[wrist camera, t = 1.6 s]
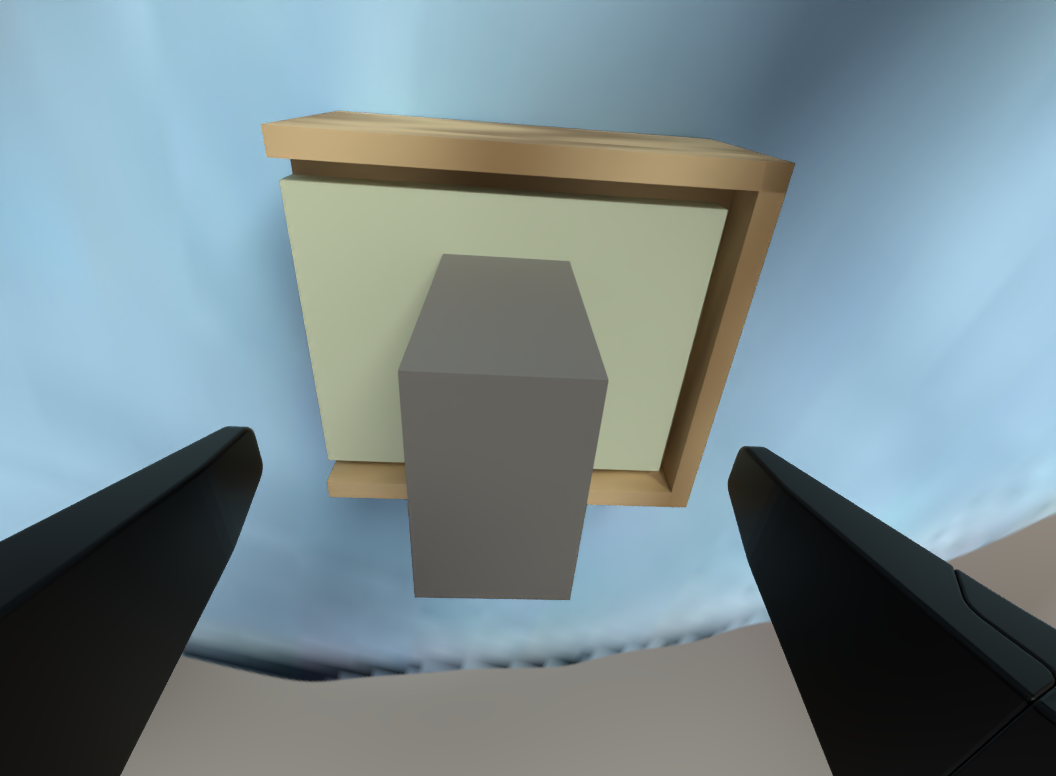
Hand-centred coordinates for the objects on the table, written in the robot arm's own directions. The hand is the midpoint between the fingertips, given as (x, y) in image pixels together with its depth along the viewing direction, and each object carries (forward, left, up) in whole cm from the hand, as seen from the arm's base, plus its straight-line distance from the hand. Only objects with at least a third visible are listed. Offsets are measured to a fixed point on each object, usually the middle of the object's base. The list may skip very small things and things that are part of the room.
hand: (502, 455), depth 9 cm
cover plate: (0, 0, -5) cm, 5 cm away
